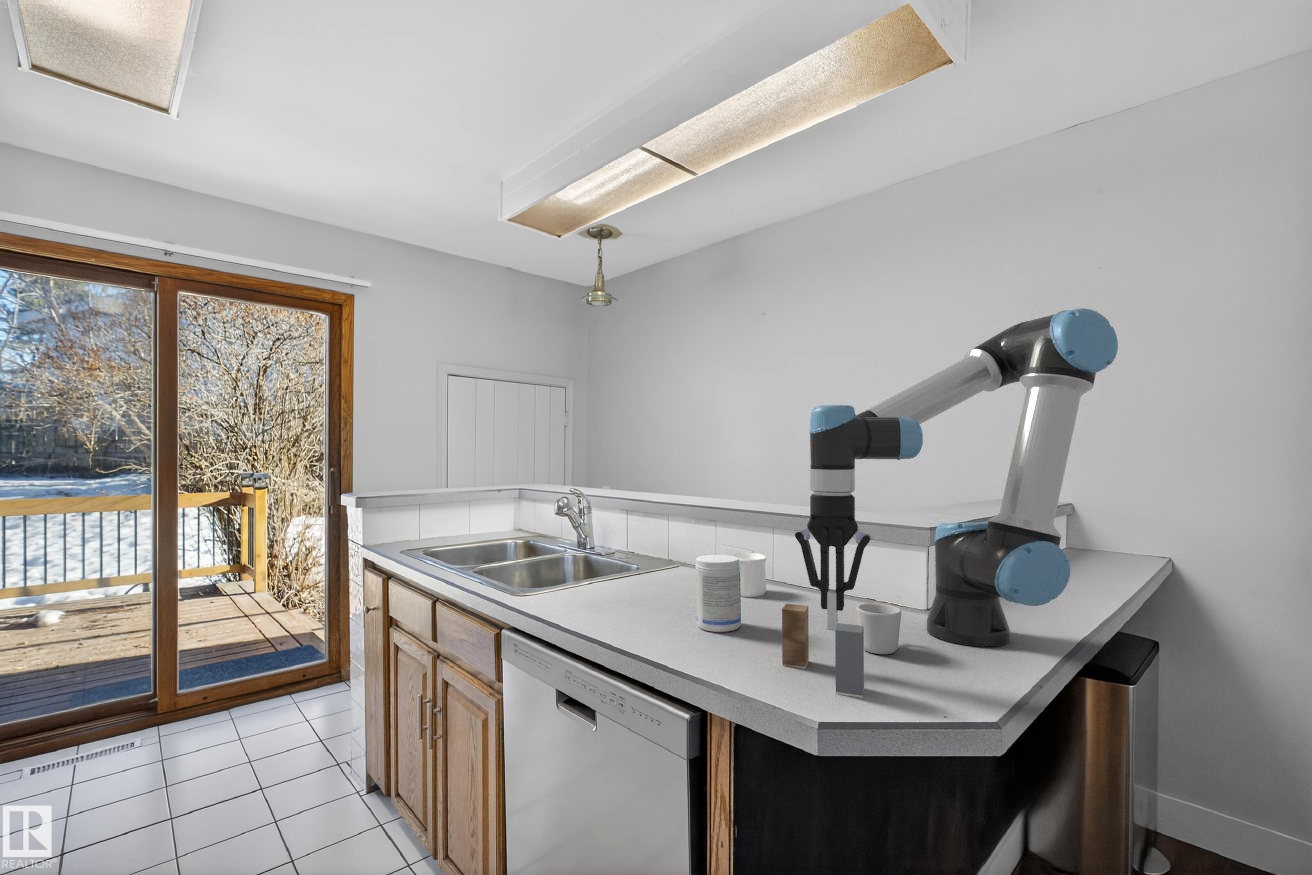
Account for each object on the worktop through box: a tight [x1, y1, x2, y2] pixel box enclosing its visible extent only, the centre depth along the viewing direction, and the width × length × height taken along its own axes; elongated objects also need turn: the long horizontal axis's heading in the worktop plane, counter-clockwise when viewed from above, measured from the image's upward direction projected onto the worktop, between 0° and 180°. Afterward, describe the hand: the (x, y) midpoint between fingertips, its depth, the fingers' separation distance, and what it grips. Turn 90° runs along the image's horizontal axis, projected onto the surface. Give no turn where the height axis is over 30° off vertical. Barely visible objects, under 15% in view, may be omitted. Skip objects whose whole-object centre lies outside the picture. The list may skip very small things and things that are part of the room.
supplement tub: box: [695, 554, 742, 633], centre depth 131 cm, size 10×10×15 cm
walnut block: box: [781, 603, 810, 670], centre depth 109 cm, size 4×4×10 cm
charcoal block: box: [834, 622, 865, 698], centre depth 97 cm, size 4×4×10 cm
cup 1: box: [731, 552, 767, 598], centre depth 160 cm, size 10×10×10 cm
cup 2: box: [856, 602, 902, 655], centre depth 117 cm, size 11×8×8 cm
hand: (832, 627), depth 107 cm, fingers closed
